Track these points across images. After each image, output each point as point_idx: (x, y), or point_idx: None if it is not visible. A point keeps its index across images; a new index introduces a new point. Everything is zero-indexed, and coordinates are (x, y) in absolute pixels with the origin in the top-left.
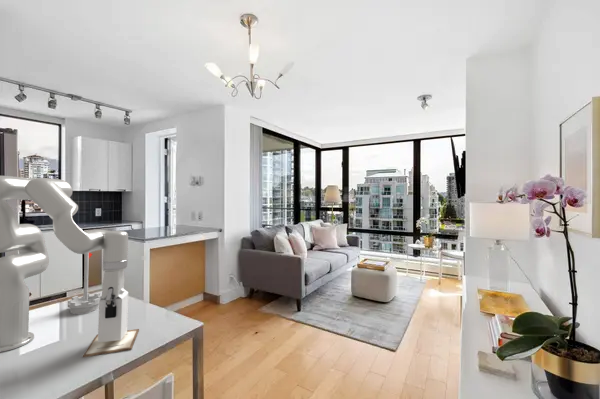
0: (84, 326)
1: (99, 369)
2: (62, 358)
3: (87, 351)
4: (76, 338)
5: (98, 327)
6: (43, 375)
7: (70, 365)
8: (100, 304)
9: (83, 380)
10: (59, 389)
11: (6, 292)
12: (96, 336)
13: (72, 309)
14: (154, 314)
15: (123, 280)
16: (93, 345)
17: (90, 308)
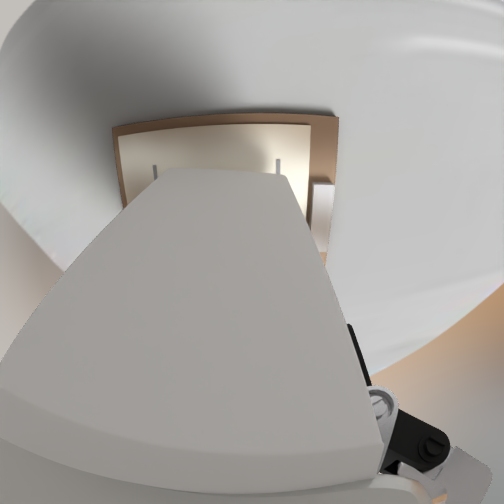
0: (458, 58)
1: (46, 224)
2: (132, 45)
3: (138, 133)
4: (341, 29)
5: (136, 197)
6: (41, 62)
7: (72, 112)
8: (26, 344)
9: (11, 202)
10: None
11: None
12: (313, 118)
13: None
14: (437, 309)
15: None
16: (192, 137)
17: None
